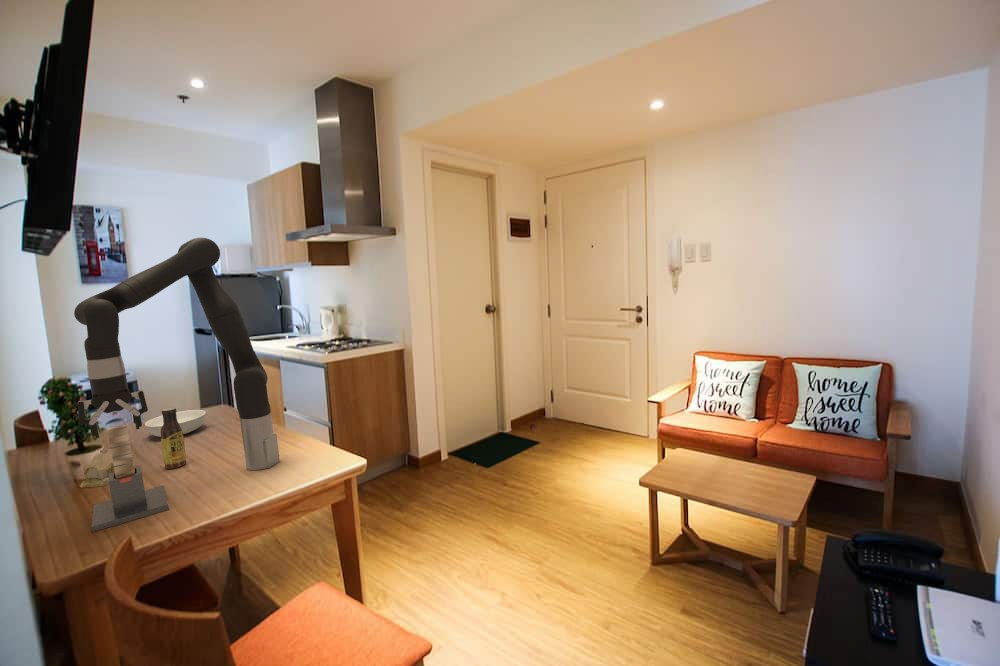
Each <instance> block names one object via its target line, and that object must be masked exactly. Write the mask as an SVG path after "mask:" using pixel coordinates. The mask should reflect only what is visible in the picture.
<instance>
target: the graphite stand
mask: <svg viewBox="0 0 1000 666" xmlns="http://www.w3.org/2000/svg"><path fill="white" fill-rule="evenodd" d="M134 469H135V474H132V475H128V476H124V477H120V478H116V477H115V472H113V473H109V484H108V485H109V492H110V497H111V499H108V500H106V501H101V502H98V503H95V504H93V508H92V518H91V531H92V533H94V532H99V531H101V530H105V529H108V528H112V527H115V526H118V525H121V524H122V525H123V524H125V523H127V522H131V521H135V520H138V519H141V518H145V517H147V516H151V515H155V514H159V513H161V512H165V511H167V510H170V508H169V501H168V499H167V494H166V490H165V485H159V486H157V487H154V488H149V489H146V490H145V485H144V478H143V471H142V467H141V465H139V466H136V467H134Z"/></svg>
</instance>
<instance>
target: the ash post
mask: <svg viewBox="0 0 1000 666" xmlns="http://www.w3.org/2000/svg"><path fill="white" fill-rule="evenodd" d="M128 431H129V430H128V426H127V424H122V425H117V426H116V425H115V426H113V427H112V426H111V427H108V428H107V434H108V441H109V446H110V448H109V449H111V453H112V459H113V464H114V470H115V477H116V478H120V477H124V476H128V475H132V474H135V469H134V465H133V462H134V459H133V458H134V457H133V454H132V448H131V447H132V446H131V441H130V436H129V432H128Z"/></svg>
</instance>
